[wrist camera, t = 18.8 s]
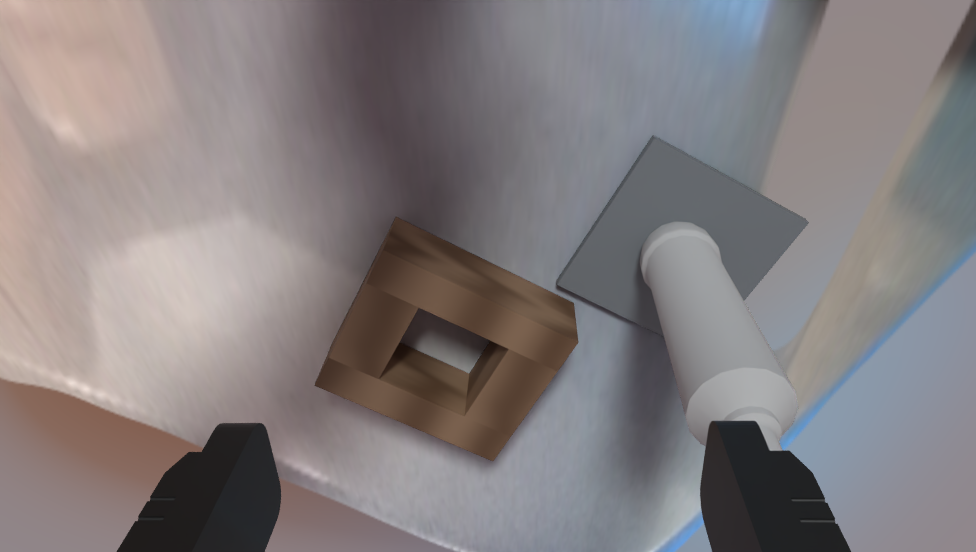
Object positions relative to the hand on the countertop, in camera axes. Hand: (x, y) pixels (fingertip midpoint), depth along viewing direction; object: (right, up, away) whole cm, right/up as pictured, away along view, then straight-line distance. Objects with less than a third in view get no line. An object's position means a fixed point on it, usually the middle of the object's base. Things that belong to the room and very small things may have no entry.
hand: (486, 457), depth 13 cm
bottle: (+13, +5, +35) cm, 38 cm away
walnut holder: (-3, 0, +39) cm, 39 cm away
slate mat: (+13, +5, +36) cm, 38 cm away
